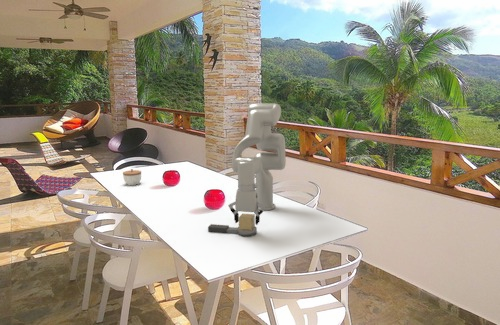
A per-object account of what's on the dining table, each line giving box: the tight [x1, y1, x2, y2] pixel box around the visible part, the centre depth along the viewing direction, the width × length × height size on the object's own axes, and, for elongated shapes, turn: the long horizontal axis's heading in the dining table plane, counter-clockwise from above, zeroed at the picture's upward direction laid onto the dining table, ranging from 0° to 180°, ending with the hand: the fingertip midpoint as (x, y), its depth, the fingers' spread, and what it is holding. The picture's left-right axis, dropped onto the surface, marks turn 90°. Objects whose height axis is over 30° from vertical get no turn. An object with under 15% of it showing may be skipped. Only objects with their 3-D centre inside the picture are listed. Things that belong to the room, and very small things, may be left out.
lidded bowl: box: [122, 169, 142, 186], centre depth 286 cm, size 13×13×11 cm
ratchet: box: [207, 223, 258, 238], centre depth 188 cm, size 9×23×6 cm, turn 75°
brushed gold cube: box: [238, 213, 256, 231], centre depth 186 cm, size 6×6×6 cm
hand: (246, 222), depth 186 cm, fingers open, 9 cm apart
